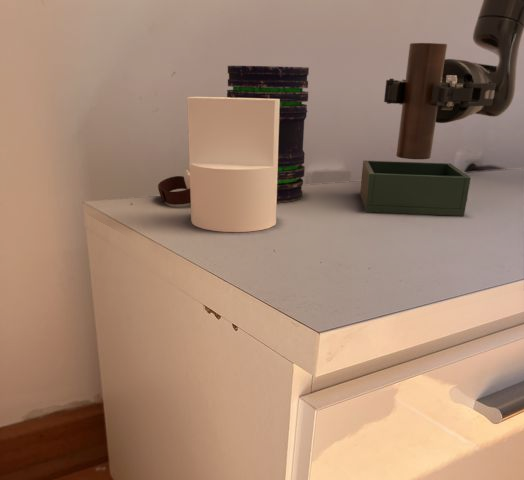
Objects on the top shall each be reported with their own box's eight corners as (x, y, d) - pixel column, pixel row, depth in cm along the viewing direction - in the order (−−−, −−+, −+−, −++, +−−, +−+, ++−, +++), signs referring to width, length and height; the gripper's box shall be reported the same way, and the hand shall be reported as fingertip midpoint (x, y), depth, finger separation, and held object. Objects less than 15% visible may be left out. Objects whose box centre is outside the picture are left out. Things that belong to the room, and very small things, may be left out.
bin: (445, 197, 75) (450, 163, 73) (464, 216, 65) (470, 177, 63) (360, 193, 76) (363, 160, 74) (365, 212, 66) (369, 173, 64)
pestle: (427, 155, 70) (443, 44, 65) (432, 160, 66) (450, 43, 61) (394, 154, 70) (407, 44, 65) (398, 158, 67) (412, 42, 61)
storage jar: (242, 186, 79) (243, 66, 73) (311, 191, 77) (318, 68, 70) (215, 199, 71) (213, 65, 64) (291, 205, 68) (297, 66, 62)
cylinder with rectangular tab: (181, 229, 57) (176, 98, 52) (202, 210, 65) (199, 95, 60) (270, 234, 56) (274, 101, 51) (280, 214, 64) (284, 97, 59)
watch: (209, 206, 67) (208, 174, 65) (170, 209, 65) (169, 176, 64) (186, 194, 73) (185, 165, 72) (151, 196, 71) (149, 166, 70)
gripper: (405, 58, 78) (357, 55, 64) (515, 60, 71) (487, 56, 58) (397, 117, 81) (351, 125, 68) (502, 124, 75) (474, 134, 61)
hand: (414, 93), depth 63 cm, fingers closed on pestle, 4 cm apart
